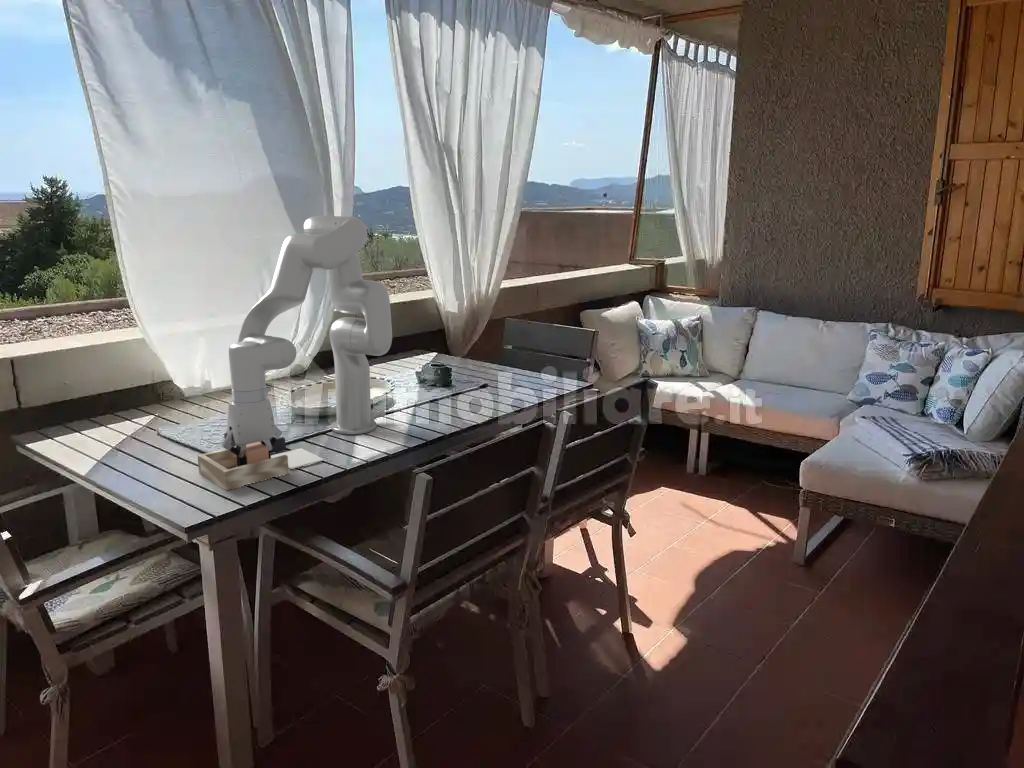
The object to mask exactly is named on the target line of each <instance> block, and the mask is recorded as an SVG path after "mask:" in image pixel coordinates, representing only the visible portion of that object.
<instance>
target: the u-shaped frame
mask: <svg viewBox="0 0 1024 768" xmlns="http://www.w3.org/2000/svg"><path fill="white" fill-rule="evenodd" d="M260 443H261V442H260ZM197 463H198V465H197V466H198V473H199V474H200V475H201V476H203V477H204V478H206V479H207V480H209V481H210V480H211V481H210V482H212V483H213V482H214V484H216V485H217V486H218V487H220V488H221V489H222V490H224V491H226V490H228V491H231V490H230V489H232V490H234V488H236V489H238V488H237V487H239V488H241V487H240V486H243V485H246V484H248V483H253V482H257V481H261V480H265V479H268V480H270V479H269V478H272V477H276V476H279V475H283V474H286V473H289V474H290V472H289V471H290V470H289V469H288V456H287V455H282V456H278V457H274V458H270V459H266V460H262V461H258V462H255V463H251V464H247V465H243V466H239V467H237V455H235V454H234V453H232V452H231V451H229V450H227V449H225V448H223V449H218V450H215V451H210V452H205V453H201V454H197ZM283 476H284V475H283ZM279 477H280V476H279ZM276 478H277V477H276ZM272 479H273V478H272ZM265 481H266V480H265ZM261 482H262V481H261ZM257 483H258V482H257ZM246 486H247V485H246ZM243 487H244V486H243Z"/></svg>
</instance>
